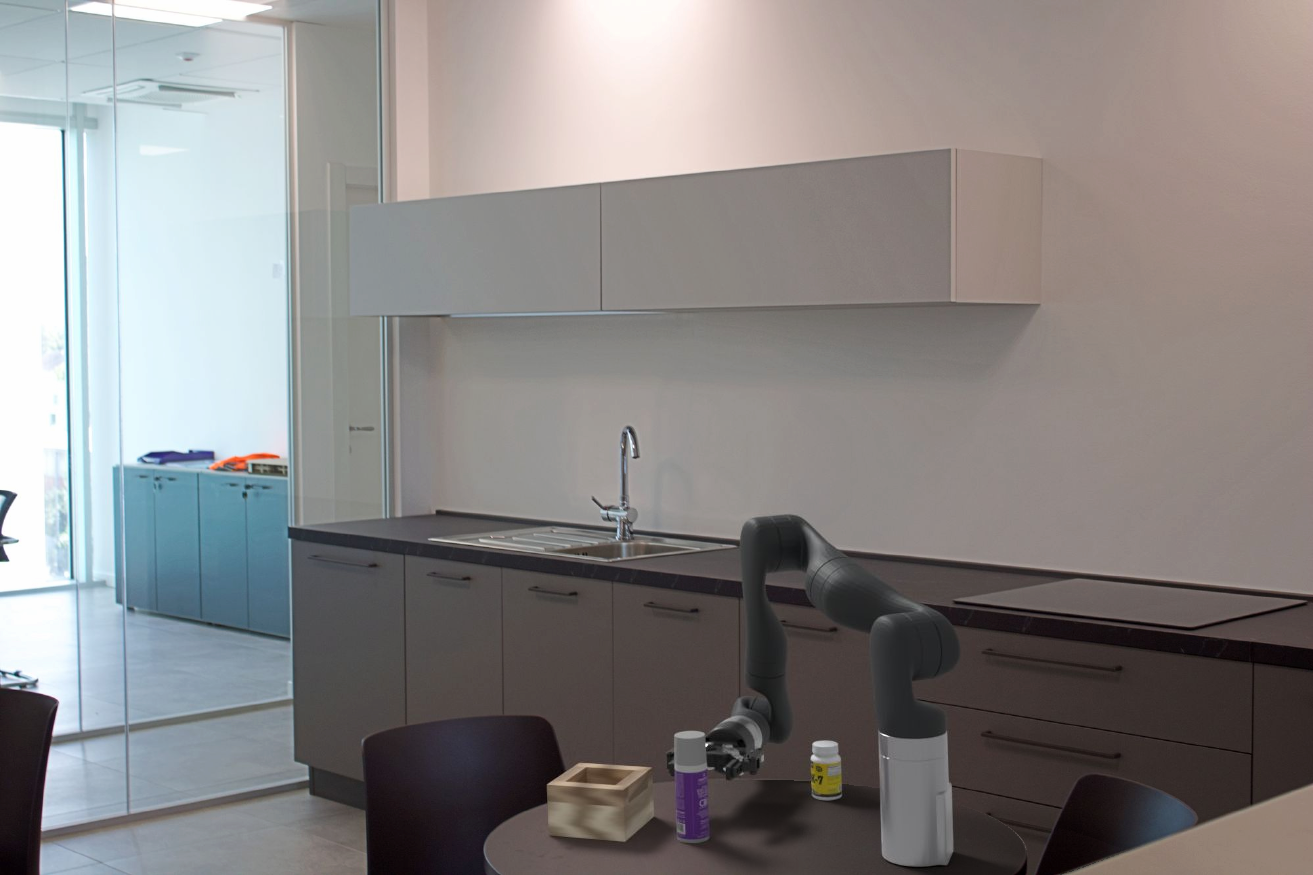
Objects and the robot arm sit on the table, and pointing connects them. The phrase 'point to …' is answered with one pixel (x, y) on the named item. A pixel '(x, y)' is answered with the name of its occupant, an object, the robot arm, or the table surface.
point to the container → (691, 787)
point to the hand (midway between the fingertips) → (700, 771)
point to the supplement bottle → (826, 771)
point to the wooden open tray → (600, 801)
